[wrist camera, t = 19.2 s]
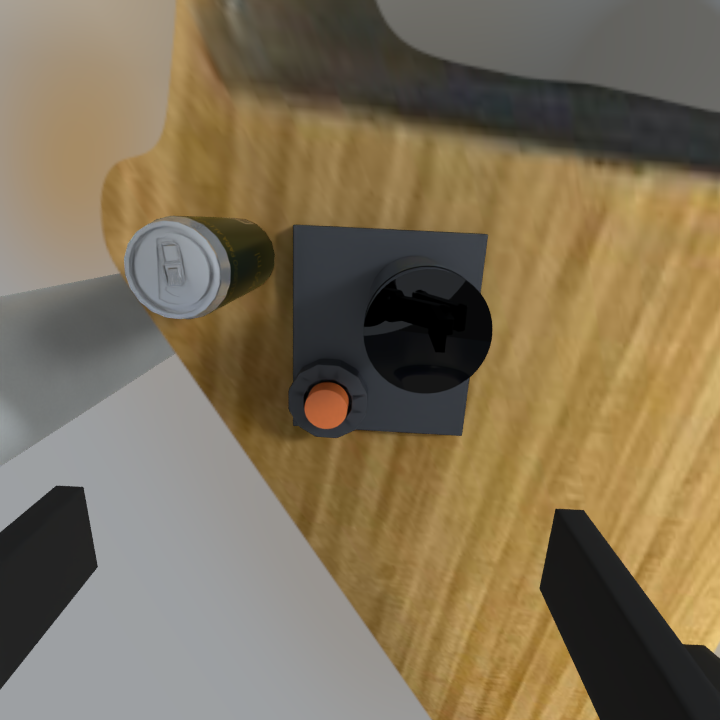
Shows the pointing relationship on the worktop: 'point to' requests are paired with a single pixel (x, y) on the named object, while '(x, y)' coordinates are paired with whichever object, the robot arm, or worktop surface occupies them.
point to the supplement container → (425, 326)
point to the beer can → (196, 263)
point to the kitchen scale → (346, 325)
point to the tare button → (326, 405)
